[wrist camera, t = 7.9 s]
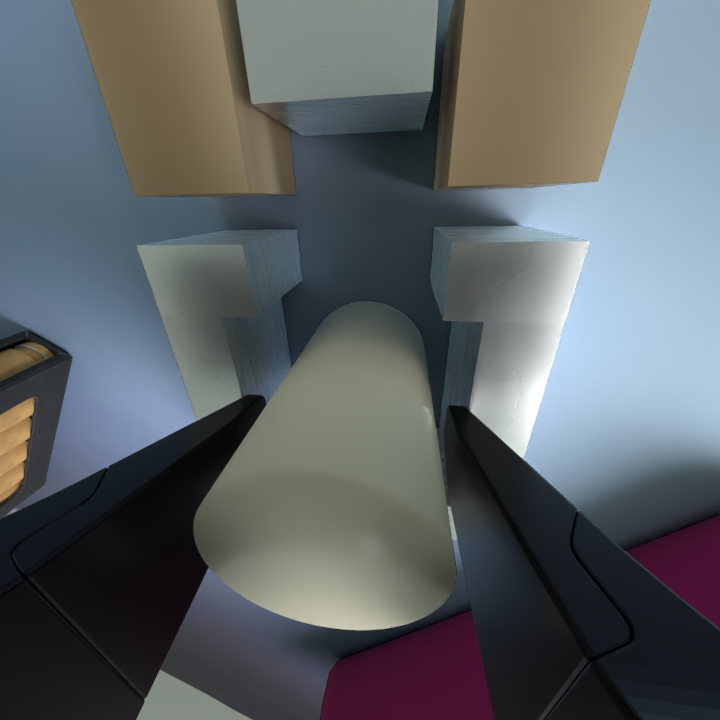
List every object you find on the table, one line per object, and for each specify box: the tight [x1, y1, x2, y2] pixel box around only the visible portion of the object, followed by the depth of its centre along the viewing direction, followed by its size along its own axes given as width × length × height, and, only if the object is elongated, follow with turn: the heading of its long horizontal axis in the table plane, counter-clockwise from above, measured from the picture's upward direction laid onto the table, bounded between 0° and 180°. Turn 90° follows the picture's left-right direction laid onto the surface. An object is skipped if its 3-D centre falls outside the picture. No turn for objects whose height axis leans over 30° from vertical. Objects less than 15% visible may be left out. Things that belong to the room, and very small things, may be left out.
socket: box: [137, 226, 590, 540], centre depth 9 cm, size 9×9×4 cm
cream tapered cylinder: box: [193, 301, 457, 630], centre depth 8 cm, size 4×4×7 cm
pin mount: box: [71, 0, 651, 197], centre depth 6 cm, size 9×3×3 cm, turn 91°
